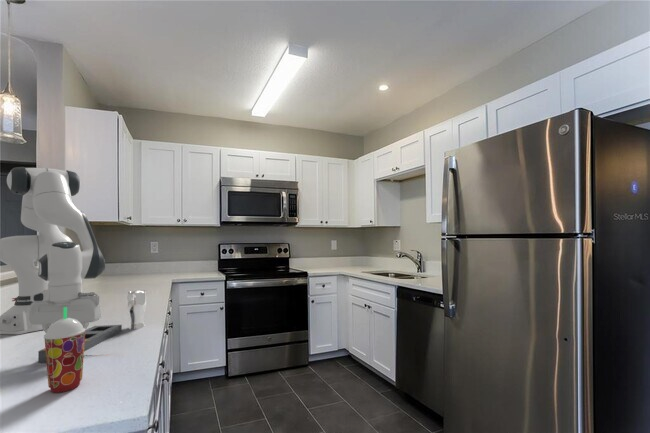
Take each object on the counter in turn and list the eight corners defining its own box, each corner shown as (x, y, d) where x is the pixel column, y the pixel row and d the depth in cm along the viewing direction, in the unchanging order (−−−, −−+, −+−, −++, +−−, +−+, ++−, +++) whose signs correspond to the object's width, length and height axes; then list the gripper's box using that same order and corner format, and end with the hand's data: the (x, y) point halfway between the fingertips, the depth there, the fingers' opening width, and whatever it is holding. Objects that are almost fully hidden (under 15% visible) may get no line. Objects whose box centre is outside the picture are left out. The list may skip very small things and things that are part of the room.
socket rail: (72, 361, 104) (72, 348, 104) (38, 362, 104) (38, 350, 104) (121, 333, 131) (121, 323, 131) (94, 335, 131) (94, 325, 131)
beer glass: (138, 332, 132) (137, 293, 133) (122, 331, 134) (122, 293, 134) (150, 327, 139) (150, 290, 140) (135, 326, 141) (135, 290, 141)
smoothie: (59, 381, 90) (59, 304, 90) (93, 379, 90) (92, 303, 91) (35, 397, 81) (35, 312, 82) (72, 394, 82) (71, 310, 83)
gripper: (104, 290, 113) (105, 332, 112) (40, 292, 112) (41, 335, 111) (92, 293, 106) (93, 338, 106) (24, 296, 105) (24, 341, 105)
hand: (65, 337), depth 109 cm, fingers open, 8 cm apart
